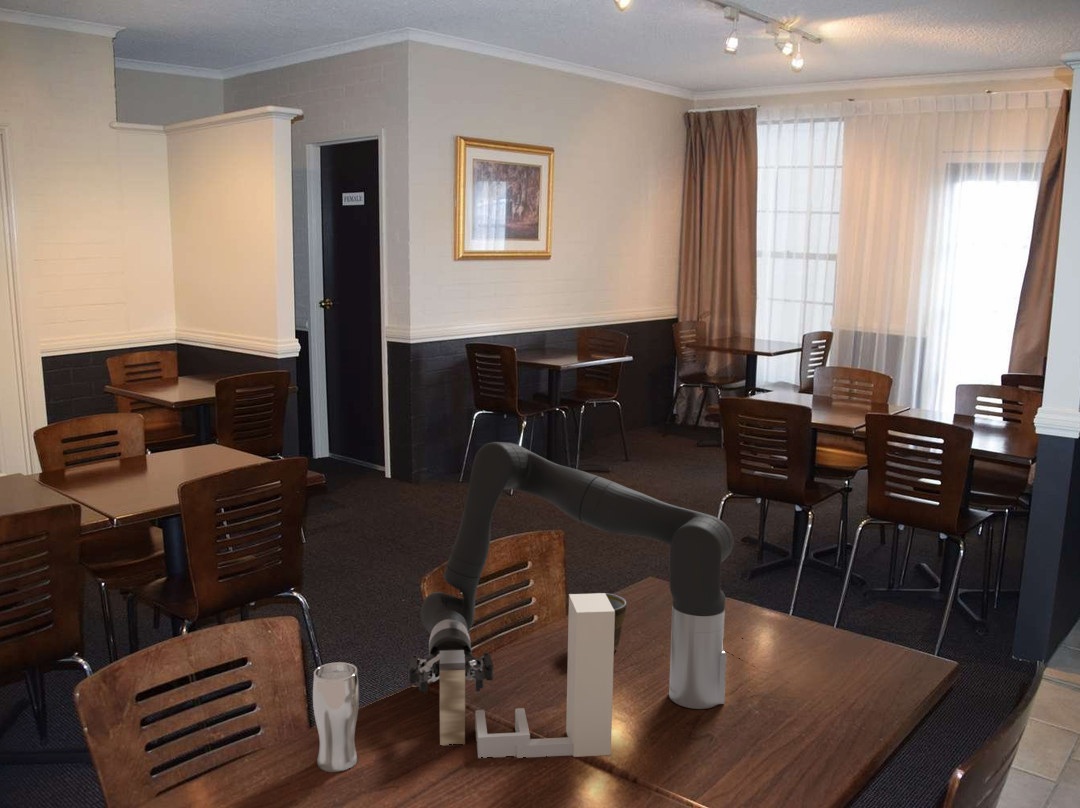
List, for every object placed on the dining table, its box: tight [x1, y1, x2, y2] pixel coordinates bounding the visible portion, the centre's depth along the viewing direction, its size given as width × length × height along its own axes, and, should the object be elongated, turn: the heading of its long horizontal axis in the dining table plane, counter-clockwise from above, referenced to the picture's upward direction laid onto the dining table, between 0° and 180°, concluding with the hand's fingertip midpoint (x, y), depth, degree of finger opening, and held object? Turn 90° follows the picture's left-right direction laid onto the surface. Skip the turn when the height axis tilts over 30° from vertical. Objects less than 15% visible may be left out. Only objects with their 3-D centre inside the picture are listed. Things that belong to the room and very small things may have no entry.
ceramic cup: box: [590, 592, 627, 652], centre depth 187 cm, size 13×10×10 cm
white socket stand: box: [474, 592, 615, 759], centre depth 150 cm, size 21×10×24 cm, turn 97°
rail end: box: [439, 650, 466, 746], centre depth 152 cm, size 4×5×14 cm
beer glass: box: [312, 661, 360, 773], centre depth 144 cm, size 7×7×15 cm
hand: (452, 687), depth 152 cm, fingers open, 8 cm apart
